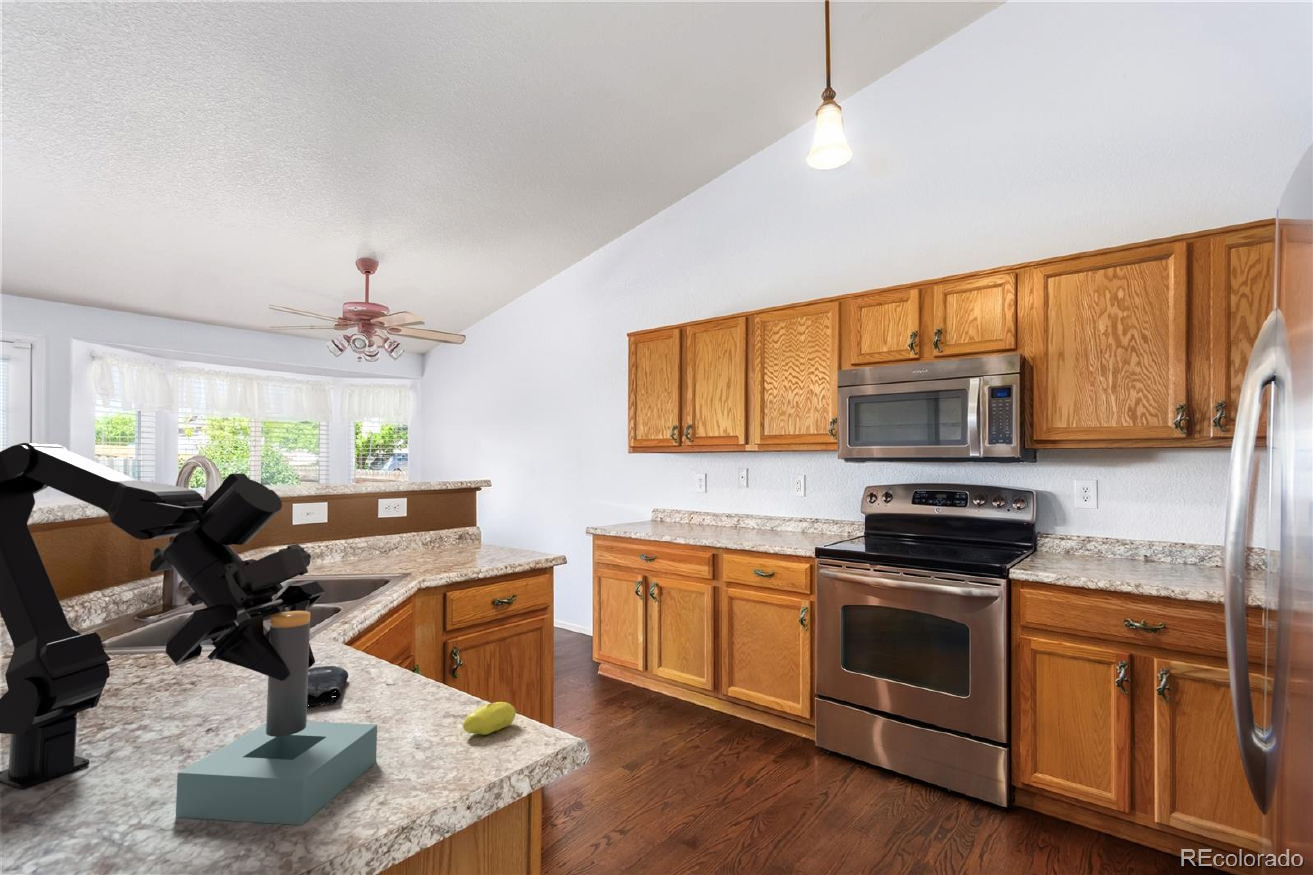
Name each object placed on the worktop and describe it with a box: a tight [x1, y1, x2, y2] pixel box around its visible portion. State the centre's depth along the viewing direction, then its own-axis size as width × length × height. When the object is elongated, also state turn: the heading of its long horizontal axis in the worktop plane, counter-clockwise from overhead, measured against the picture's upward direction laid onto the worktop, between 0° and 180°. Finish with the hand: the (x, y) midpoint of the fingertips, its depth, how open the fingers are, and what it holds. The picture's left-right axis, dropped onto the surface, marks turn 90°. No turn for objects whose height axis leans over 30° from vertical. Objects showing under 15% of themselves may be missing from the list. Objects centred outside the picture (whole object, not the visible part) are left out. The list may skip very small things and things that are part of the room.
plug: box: [265, 610, 311, 737], centre depth 72 cm, size 4×4×13 cm
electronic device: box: [307, 665, 349, 709], centre depth 101 cm, size 9×6×15 cm
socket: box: [175, 720, 378, 826], centre depth 71 cm, size 14×14×4 cm
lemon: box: [462, 701, 516, 736], centre depth 87 cm, size 4×8×4 cm, turn 132°
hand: (299, 671), depth 72 cm, fingers closed on plug, 4 cm apart
